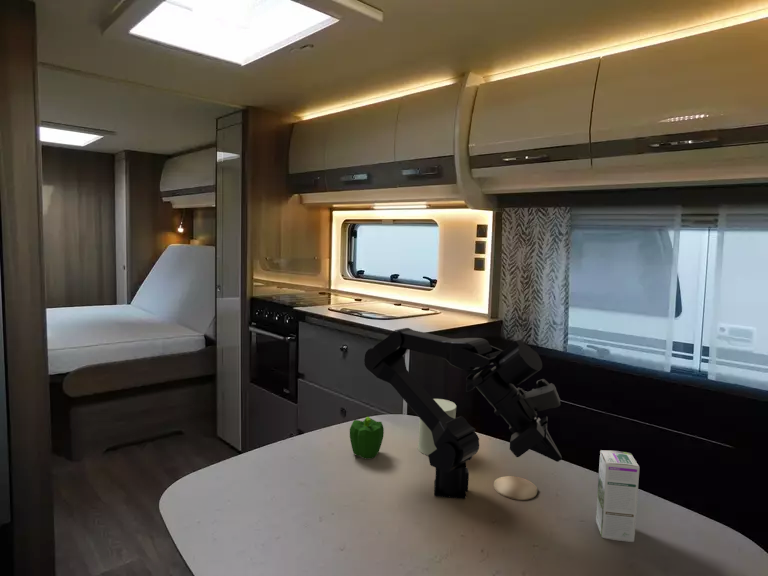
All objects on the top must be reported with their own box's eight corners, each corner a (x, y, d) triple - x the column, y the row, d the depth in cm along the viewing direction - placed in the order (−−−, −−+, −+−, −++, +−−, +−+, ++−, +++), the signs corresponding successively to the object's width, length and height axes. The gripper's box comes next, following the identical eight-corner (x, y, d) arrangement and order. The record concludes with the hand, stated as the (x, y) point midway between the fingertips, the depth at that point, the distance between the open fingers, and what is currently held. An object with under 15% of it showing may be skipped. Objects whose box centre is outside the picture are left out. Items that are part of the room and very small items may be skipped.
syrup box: (635, 543, 90) (642, 466, 88) (600, 538, 91) (606, 462, 89) (626, 525, 95) (633, 452, 94) (593, 520, 97) (599, 448, 95)
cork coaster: (496, 498, 104) (496, 495, 104) (491, 476, 113) (491, 474, 113) (540, 501, 103) (541, 499, 103) (532, 480, 112) (533, 477, 112)
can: (414, 441, 130) (416, 396, 129) (449, 440, 131) (451, 396, 130) (421, 457, 121) (423, 409, 120) (458, 456, 122) (460, 409, 121)
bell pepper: (352, 445, 127) (353, 407, 126) (384, 448, 126) (385, 410, 125) (345, 460, 119) (346, 420, 117) (379, 463, 118) (381, 422, 116)
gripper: (533, 384, 86) (598, 456, 83) (537, 358, 103) (591, 417, 101) (484, 421, 89) (545, 492, 87) (496, 390, 107) (548, 448, 104)
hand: (559, 459), depth 95 cm, fingers closed
